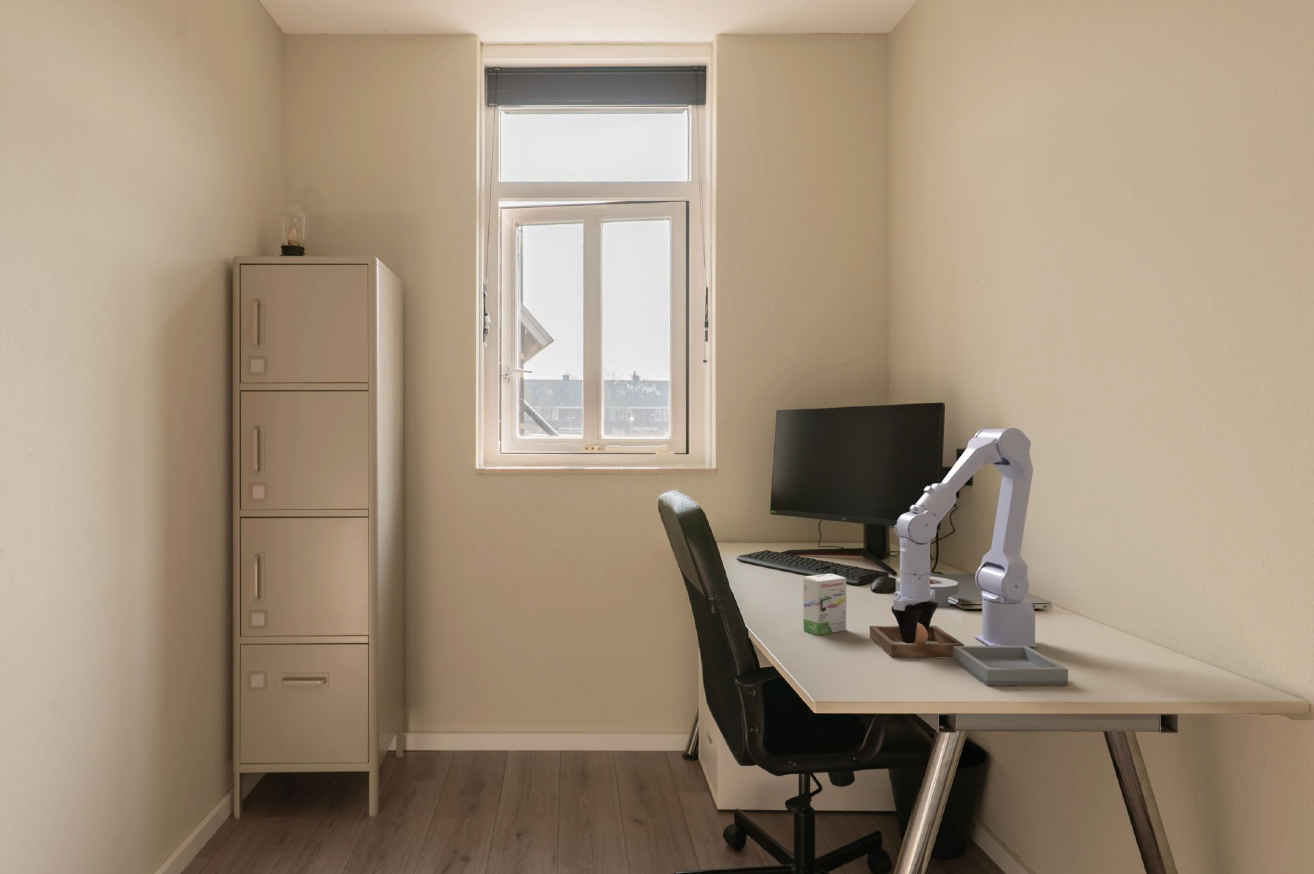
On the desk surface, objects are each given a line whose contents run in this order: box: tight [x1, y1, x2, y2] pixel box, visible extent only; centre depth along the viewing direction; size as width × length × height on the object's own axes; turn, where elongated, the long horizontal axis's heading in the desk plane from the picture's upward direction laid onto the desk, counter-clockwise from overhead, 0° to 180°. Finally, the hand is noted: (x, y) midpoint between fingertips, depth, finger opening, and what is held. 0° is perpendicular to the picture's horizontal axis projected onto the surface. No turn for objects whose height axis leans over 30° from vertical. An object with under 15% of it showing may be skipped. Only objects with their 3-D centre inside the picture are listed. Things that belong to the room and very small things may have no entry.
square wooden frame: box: [869, 625, 965, 658], centre depth 151 cm, size 14×14×2 cm
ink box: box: [802, 573, 847, 636], centre depth 163 cm, size 8×5×12 cm, turn 121°
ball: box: [914, 623, 929, 643], centre depth 151 cm, size 5×5×5 cm
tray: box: [952, 645, 1069, 687], centre depth 135 cm, size 14×14×3 cm
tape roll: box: [895, 576, 960, 607], centre depth 194 cm, size 15×15×5 cm
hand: (914, 640), depth 151 cm, fingers closed on ball, 5 cm apart
